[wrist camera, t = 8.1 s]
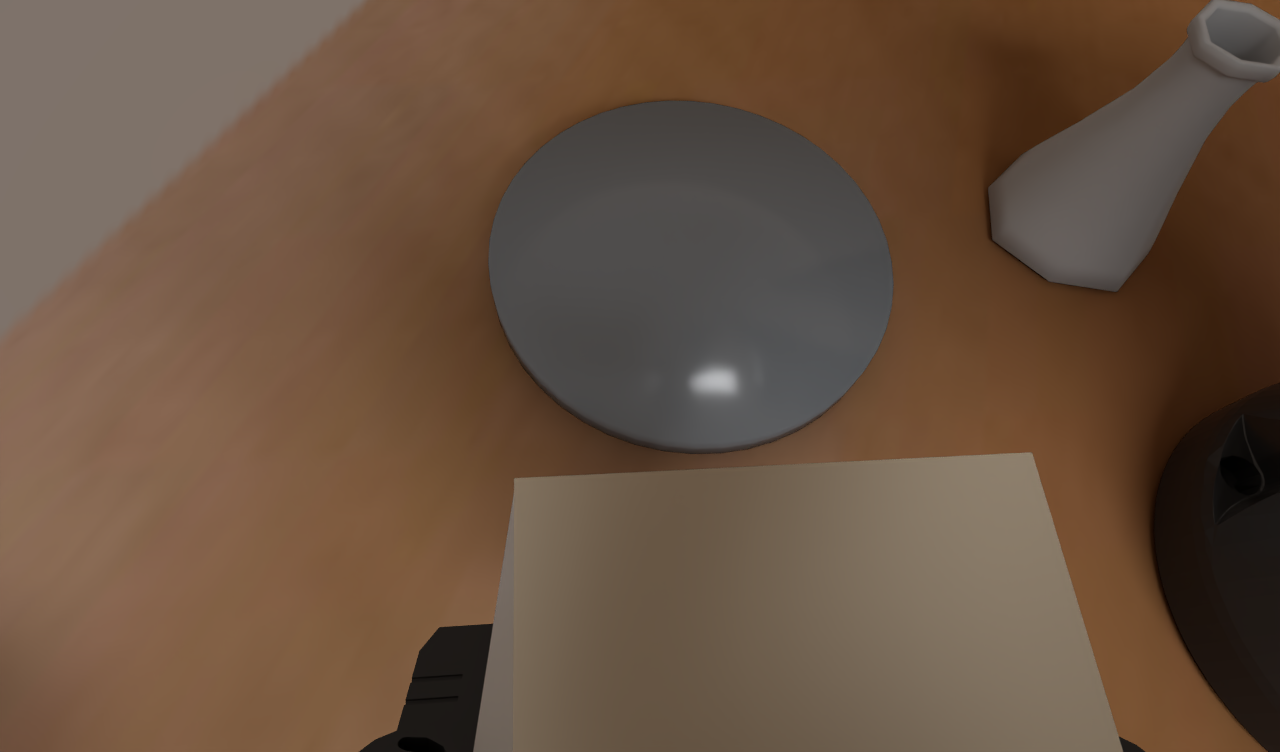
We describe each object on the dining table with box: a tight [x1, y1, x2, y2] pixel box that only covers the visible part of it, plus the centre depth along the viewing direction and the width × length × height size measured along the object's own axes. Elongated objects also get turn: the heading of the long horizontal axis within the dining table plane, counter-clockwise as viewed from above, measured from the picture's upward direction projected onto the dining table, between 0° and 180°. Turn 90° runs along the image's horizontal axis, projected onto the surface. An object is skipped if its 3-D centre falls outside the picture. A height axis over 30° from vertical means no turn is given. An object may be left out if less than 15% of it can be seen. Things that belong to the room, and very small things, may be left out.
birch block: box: [513, 452, 1123, 752], centre depth 11 cm, size 5×5×12 cm
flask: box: [988, 0, 1280, 292], centre depth 28 cm, size 7×7×10 cm
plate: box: [488, 101, 893, 454], centre depth 29 cm, size 16×16×1 cm
